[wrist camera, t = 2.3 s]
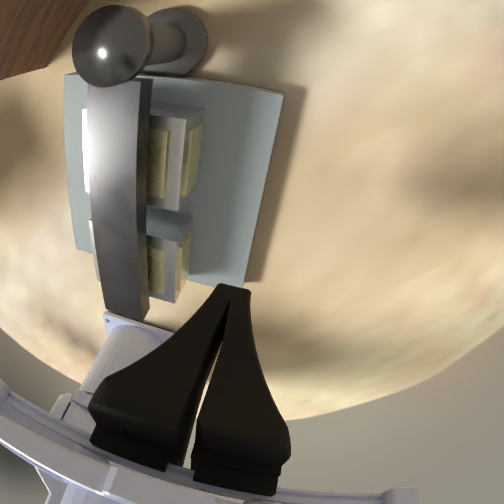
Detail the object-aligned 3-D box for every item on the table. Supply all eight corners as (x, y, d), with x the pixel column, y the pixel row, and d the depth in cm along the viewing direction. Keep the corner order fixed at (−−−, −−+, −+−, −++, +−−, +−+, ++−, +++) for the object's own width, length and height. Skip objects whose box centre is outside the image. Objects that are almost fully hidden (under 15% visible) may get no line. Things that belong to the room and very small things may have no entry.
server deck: (243, 283, 24) (228, 339, 20) (83, 240, 25) (47, 282, 20) (300, 23, 14) (297, 9, 9) (80, 14, 14) (20, 17, 10)
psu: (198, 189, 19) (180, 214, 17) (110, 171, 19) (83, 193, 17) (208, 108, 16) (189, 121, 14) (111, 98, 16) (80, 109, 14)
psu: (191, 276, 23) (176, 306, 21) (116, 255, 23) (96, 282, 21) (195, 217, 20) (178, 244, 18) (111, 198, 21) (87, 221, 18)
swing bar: (155, 310, 21) (144, 331, 19) (108, 295, 21) (95, 315, 19) (171, 7, 10) (151, 2, 9) (102, 10, 10) (76, 9, 9)
